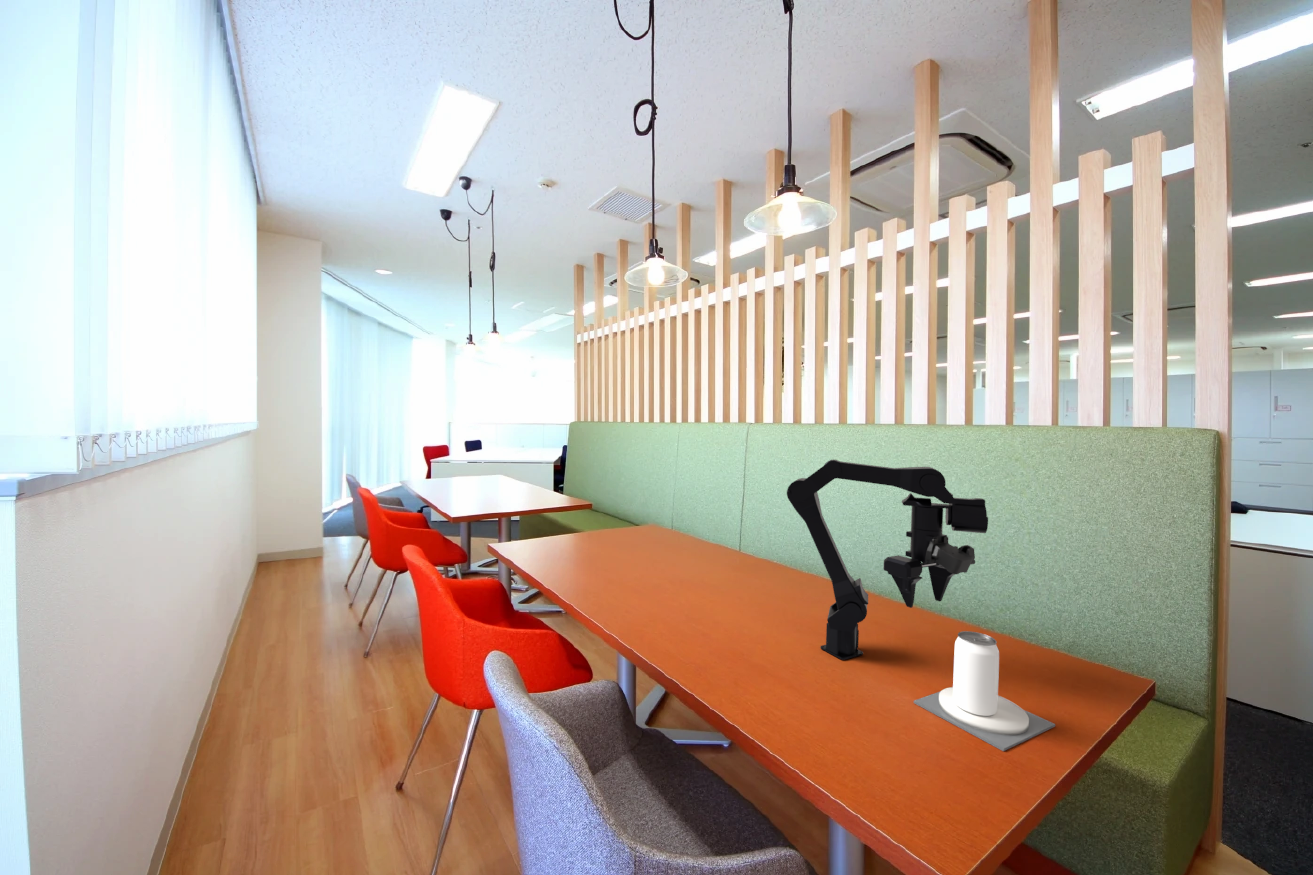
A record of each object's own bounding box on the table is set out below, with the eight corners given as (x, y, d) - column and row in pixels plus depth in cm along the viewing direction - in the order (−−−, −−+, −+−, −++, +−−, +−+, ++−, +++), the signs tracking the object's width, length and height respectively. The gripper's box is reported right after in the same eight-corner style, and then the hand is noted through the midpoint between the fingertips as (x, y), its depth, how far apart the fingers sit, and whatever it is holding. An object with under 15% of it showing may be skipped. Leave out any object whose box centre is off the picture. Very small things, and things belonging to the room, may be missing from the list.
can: (948, 694, 91) (951, 627, 91) (990, 701, 89) (993, 633, 89) (957, 713, 85) (960, 642, 85) (1002, 721, 83) (1005, 648, 83)
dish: (1003, 751, 77) (1003, 742, 77) (913, 702, 91) (913, 695, 91) (1055, 726, 84) (1055, 718, 84) (964, 684, 97) (964, 677, 97)
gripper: (935, 540, 93) (932, 625, 93) (994, 532, 101) (991, 610, 102) (882, 528, 103) (880, 605, 103) (940, 522, 111) (938, 593, 112)
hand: (924, 603), depth 105 cm, fingers open, 9 cm apart
